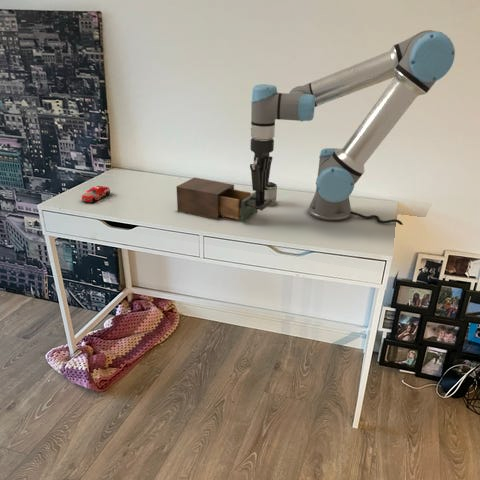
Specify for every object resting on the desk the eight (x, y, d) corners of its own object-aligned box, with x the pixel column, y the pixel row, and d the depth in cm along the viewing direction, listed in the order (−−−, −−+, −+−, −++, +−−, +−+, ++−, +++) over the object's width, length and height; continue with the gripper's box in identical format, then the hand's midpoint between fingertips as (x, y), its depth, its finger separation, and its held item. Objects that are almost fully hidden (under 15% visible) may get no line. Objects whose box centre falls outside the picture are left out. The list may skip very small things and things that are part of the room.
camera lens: (274, 200, 189) (275, 180, 184) (277, 206, 183) (278, 186, 179) (258, 201, 188) (259, 181, 184) (261, 206, 183) (262, 186, 178)
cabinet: (233, 209, 180) (234, 184, 175) (217, 220, 171) (217, 194, 166) (195, 201, 186) (194, 177, 181) (177, 211, 177) (176, 186, 172)
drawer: (273, 215, 173) (274, 195, 169) (260, 225, 165) (261, 204, 161) (219, 204, 181) (219, 185, 177) (204, 214, 173) (204, 193, 169)
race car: (90, 204, 181) (88, 194, 178) (79, 202, 183) (77, 192, 180) (113, 194, 190) (111, 184, 188) (102, 192, 192) (100, 182, 190)
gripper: (260, 133, 161) (257, 201, 174) (242, 141, 152) (241, 213, 165) (281, 135, 159) (276, 205, 171) (264, 144, 149) (261, 217, 162)
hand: (259, 208), depth 168 cm, fingers closed
